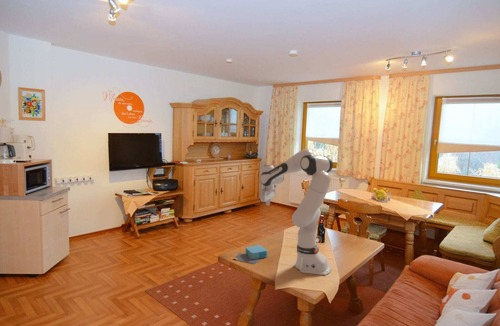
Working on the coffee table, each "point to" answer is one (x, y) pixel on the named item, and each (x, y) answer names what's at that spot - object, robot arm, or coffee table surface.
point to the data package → (256, 252)
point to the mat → (246, 258)
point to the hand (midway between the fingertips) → (268, 205)
